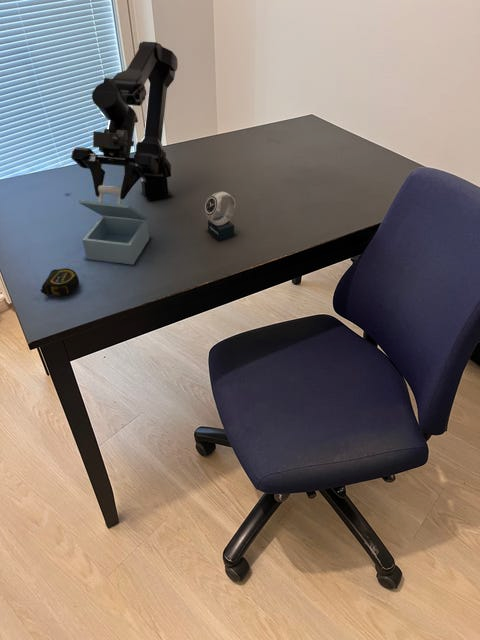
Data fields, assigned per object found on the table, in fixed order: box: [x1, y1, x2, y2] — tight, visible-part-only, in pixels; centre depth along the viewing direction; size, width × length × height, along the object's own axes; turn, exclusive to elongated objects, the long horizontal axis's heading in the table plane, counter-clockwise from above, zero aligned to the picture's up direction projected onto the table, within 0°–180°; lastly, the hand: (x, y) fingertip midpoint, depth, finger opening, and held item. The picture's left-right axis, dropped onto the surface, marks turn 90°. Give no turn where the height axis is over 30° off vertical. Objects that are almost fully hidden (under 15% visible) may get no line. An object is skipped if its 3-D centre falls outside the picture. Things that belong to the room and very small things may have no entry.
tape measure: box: [40, 267, 80, 297], centre depth 103 cm, size 7×7×4 cm
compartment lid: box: [78, 184, 148, 221], centre depth 111 cm, size 12×12×5 cm
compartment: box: [82, 215, 150, 266], centre depth 115 cm, size 12×12×5 cm
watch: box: [203, 191, 237, 241], centre depth 119 cm, size 6×8×11 cm
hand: (109, 197), depth 108 cm, fingers closed on compartment lid, 5 cm apart
